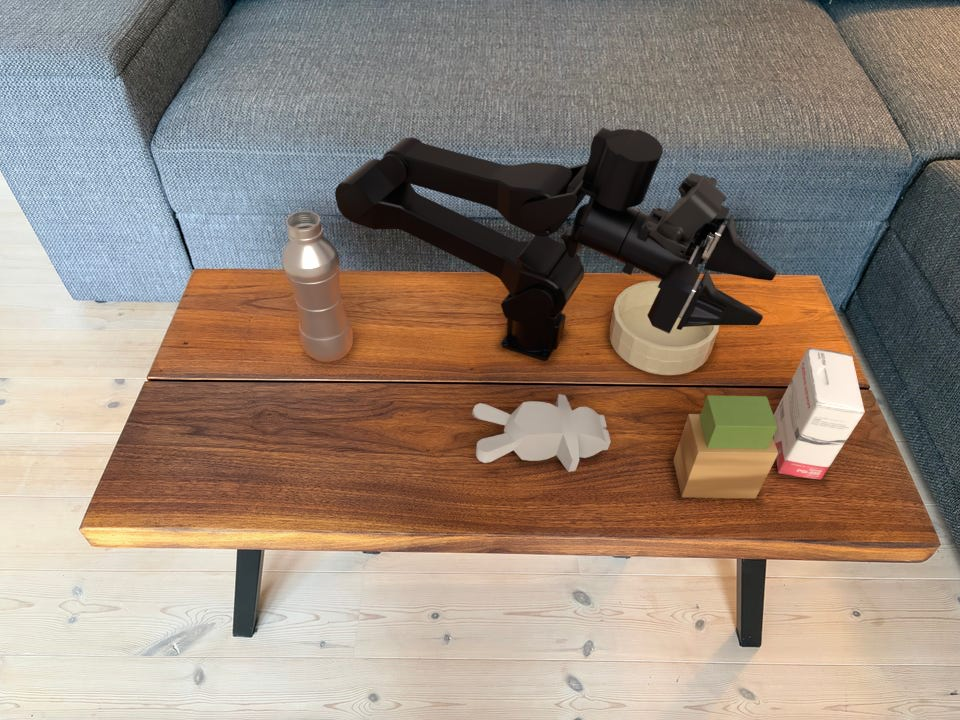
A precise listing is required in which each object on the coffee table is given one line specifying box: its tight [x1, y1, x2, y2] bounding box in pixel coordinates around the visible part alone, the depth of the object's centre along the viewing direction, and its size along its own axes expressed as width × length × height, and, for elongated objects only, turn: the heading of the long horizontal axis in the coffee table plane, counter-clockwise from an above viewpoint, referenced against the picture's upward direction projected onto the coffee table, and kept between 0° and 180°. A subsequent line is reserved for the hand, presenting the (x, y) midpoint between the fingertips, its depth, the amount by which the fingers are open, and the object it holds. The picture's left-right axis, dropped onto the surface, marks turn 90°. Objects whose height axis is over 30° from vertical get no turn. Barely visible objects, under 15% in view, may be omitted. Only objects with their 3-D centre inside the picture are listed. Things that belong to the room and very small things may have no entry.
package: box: [699, 394, 777, 449], centre depth 72 cm, size 4×6×4 cm, turn 89°
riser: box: [673, 413, 778, 499], centre depth 76 cm, size 5×8×8 cm, turn 89°
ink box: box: [773, 347, 866, 481], centre depth 78 cm, size 9×5×12 cm, turn 168°
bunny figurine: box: [471, 393, 612, 473], centre depth 80 cm, size 10×5×15 cm
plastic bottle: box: [281, 210, 354, 363], centre depth 85 cm, size 6×7×20 cm
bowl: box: [609, 280, 720, 376], centre depth 93 cm, size 13×13×4 cm
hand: (768, 297), depth 74 cm, fingers open, 9 cm apart
